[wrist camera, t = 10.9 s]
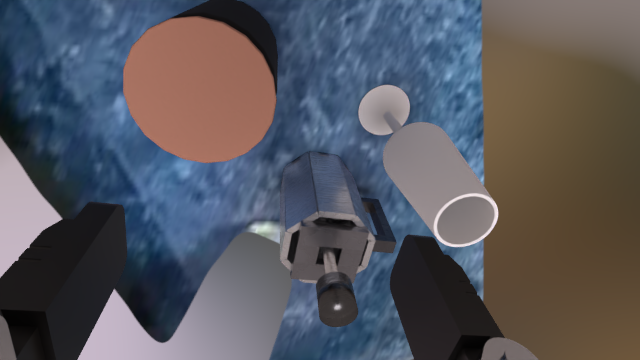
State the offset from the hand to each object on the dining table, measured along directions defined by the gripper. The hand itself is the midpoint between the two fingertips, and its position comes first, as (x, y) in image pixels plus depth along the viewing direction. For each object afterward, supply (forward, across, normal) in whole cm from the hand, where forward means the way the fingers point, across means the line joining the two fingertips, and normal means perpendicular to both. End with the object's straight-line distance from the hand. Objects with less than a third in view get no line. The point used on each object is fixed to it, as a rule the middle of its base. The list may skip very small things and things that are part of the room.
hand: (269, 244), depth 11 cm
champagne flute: (+36, -15, +6) cm, 40 cm away
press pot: (+36, -10, +18) cm, 41 cm away
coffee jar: (+36, +5, +2) cm, 37 cm away
